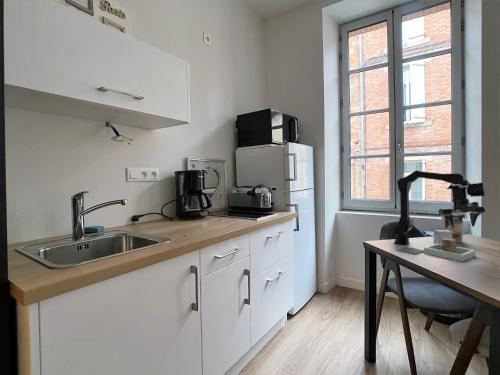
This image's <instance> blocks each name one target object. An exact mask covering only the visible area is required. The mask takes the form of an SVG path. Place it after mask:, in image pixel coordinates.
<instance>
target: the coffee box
mask: <svg viewBox="0 0 500 375" xmlns="http://www.w3.org/2000/svg"><path fill="white" fill-rule="evenodd" d="M451 215H453V224H454V228H452V227H451V225H450V224H449V222H448V220H447V219H446V218H445V216H443V215H442V214H441V230H449V231H452V239H456V243H463V234H464V233H463V232H464V231H463V226H464V224H463V223H464V222H463V221H464V220H463V219H464V218H463V217H464V216H463V215H461V214H456V213H452V214H451Z"/></svg>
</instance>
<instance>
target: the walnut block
mask: <svg viewBox="0 0 500 375" xmlns="http://www.w3.org/2000/svg"><path fill="white" fill-rule="evenodd" d="M456 247H457V242H456V239H450V238H444V239H442V251H447V252H452V253H456Z"/></svg>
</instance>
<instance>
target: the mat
mask: <svg viewBox="0 0 500 375" xmlns="http://www.w3.org/2000/svg"><path fill="white" fill-rule="evenodd" d="M396 251H398V252H401V253H404V254H405V253H407V254H411V255H414V256H417V255H419V254H422V253H424V249H419V248H414V247H409V246H404V247H401V248H397V249H396Z"/></svg>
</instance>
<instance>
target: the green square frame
mask: <svg viewBox="0 0 500 375" xmlns="http://www.w3.org/2000/svg"><path fill="white" fill-rule="evenodd" d="M423 250H424V252H423V254H426V255H432V256H436V257H440V258H445V259H450V260H455V261H458V262H464V261H468V260H470V259H472V258H474V257H476V249H471V248H465V247H460V246H456V253H452V252H447V251H442V244H438V243H437V244H434V243H433V244H431V245H428V246H425V247H423Z"/></svg>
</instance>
